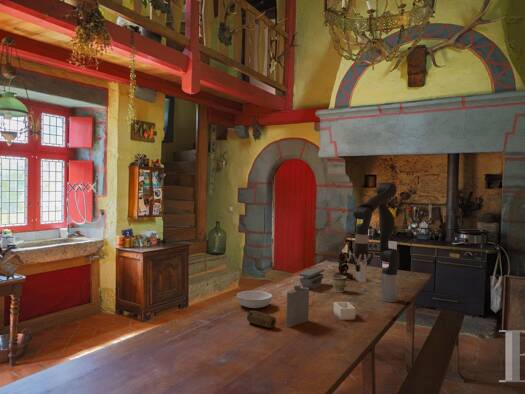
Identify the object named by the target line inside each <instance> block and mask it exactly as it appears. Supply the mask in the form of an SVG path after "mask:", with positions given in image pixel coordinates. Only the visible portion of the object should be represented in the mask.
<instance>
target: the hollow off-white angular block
mask: <svg viewBox="0 0 525 394" xmlns="http://www.w3.org/2000/svg"><path fill="white" fill-rule="evenodd" d="M332 312H333V314H334V315H335V316H336V317H337V318H338V319H339V320H340V321H343V320H356V312H357V311H356V307H354V306H353V305H352V304H351V303H350V302H349V301H333V311H332Z"/></svg>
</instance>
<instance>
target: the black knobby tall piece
mask: <svg viewBox="0 0 525 394" xmlns="http://www.w3.org/2000/svg"><path fill="white" fill-rule="evenodd" d="M349 258H350V254H349V252H346V251H345V252H343V253H339V255H338V259H339V261H338V262H339V263H338V268H337V269H338V271H337V272H335V273H333V276H334V275H341V276H346V277H347V278H346V279H353V277H354V275H353V274H352V273H350V272H348V270H349V267H350V266H349V265H348V262H349V261H348V259H349Z"/></svg>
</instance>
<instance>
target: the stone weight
mask: <svg viewBox="0 0 525 394" xmlns="http://www.w3.org/2000/svg"><path fill="white" fill-rule="evenodd" d="M246 320H247V322H248V323H251V324H253V325H256V326H259V327H261V328H262V327H263V328H267V329H269V328H270V329H271V328H274V327H275V326H276V324H277V319H276V317H275V316H273V315H270V314H267V313H264V312H262V311H258V310H250V311H249V312H248V313H247V315H246Z"/></svg>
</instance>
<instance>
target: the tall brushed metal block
mask: <svg viewBox="0 0 525 394" xmlns="http://www.w3.org/2000/svg"><path fill="white" fill-rule="evenodd" d="M358 266H359V272H357V271H356V270H355V280H356V281H358V282H359V283H366V282H367V270H366V264H364V263H363V261H360V262H359V265H358Z"/></svg>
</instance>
